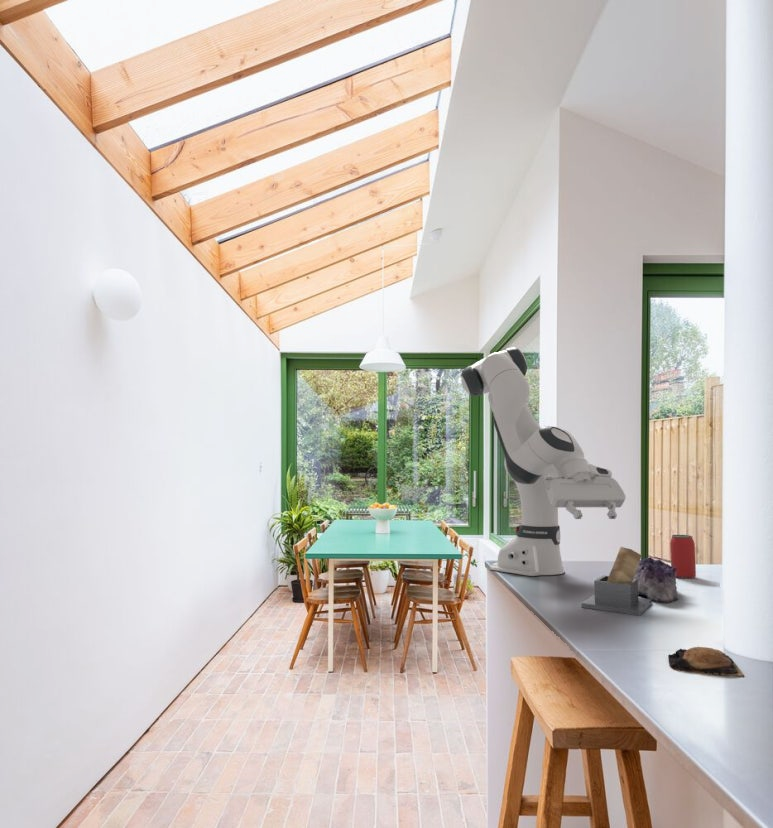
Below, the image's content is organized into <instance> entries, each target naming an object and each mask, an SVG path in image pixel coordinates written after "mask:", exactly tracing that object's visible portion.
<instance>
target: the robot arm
mask: <svg viewBox="0 0 773 828" xmlns="http://www.w3.org/2000/svg"><path fill="white" fill-rule="evenodd" d="M527 371H528V363H527V359H526V356H525V354H524V353H523V352H522V351H521V350H520V349H519V348H517V347H515V346H513V347H508V348H505V349H504V350H501V351H498V352H492V353H490V354H489V355H487V356H486V357H484V358H481V359H480V360H478V361H476V362H474V363H473V364H472V365H468V366H467V367H465V368H464V369H463V370H462V371H461V374H460V378H461V379H460V380H461V381H460V382H461V385H462V387H463V389H464V390H465V392H466V393H467V394H468V395H469V396H470V397H473V398H475V397H480V396H481V397H482V396H484V394H485V395H486V394H487V399H488V402H489V406H490V410H491V412H492V421H493V425H494V428H495V431H496V434H497V437H498V440H499V443H500V446H501V448H502V452H503V455H504V460H503V461H504V463H503V464H504V469H505V472H506V473H507V475H508V476H510V477H511V479H512V480H513V482H514V483H515V485H516V488H517V492H518V494H519V498H520V510H521V524H519V525H518V526H516V527H514V532H515V533H516V534H515V535H516V536H515V537H513V538H512V539H511V540H509V541H508V542H506V543H505V544H504V545H503V546H502V547H501V548H500V549H499V552H498V553H497V554H498V555H497V561H496V562H494V563H492V564H491V565H490V570H491V571H497V572H502V573H503V572H504V573H510V574H514V575H516V574H517V575H523V576H531V577H535V576H536V577H537V576H554V575H562V574H564V573H565V572H566V570H565V568H564V564H563V561H562V555H561V554H562V553H561V546H560V544H561V528H560V525H559V508H565V510H566V511H567V512H569V513H570V514H571V515H572V516H573V518H574V519H575V520H582V518H583V513H582V511H581V509H577V508H607V510H608V512H607V514H606V516H607V517H608V519H609V520H615V519H616V518H617V516H618V514H617V512H616V508H621V507H622V505H624V503H625V501H626V498H627V496H626V494H625V492H624V490H623V488H622V487H621V485H620V484H619V482H618V481H617V480H616V479H615V478H613V477H612V476H613V473H612V470H610V469H608V468H603V467H599V466H596V465H594V464H591V463H589V462H588V460H587V459H586V458H585V453H584V451H583V450H582V447H581V445H580V444H579V442H578V441H577V439H576V438H575V437H574V436H573V434H571V432H569V431H567V430H565V429H561V428H559V427H556V426H550V425H544V426H540V425H539V423H538V422H537V420H536V419H535V417H534V415H533V414H532V412H531V409H530V408H529V407H528V405H527V403H528V399H529V397H530V385H529V382H528V381H527V379H526V374H527Z"/></svg>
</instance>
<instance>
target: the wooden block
mask: <svg viewBox="0 0 773 828" xmlns="http://www.w3.org/2000/svg"><path fill="white" fill-rule="evenodd" d="M642 555H643V554H640V553H639V552H636V551H635V550H633V549H631V548H627V547H623V546H620V548H619V550H618V553H617V555H616V558H615V560H614V563H613V565H612V568H611V570H610V573H609V575H608V576H609V577H608V580H607V582H615V583H625V584H628V583H629V582H631V581H632V579H633V576H634V574H635V571H636V568H637V566H638V563H639V561H640V560H641V558H642Z"/></svg>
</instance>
